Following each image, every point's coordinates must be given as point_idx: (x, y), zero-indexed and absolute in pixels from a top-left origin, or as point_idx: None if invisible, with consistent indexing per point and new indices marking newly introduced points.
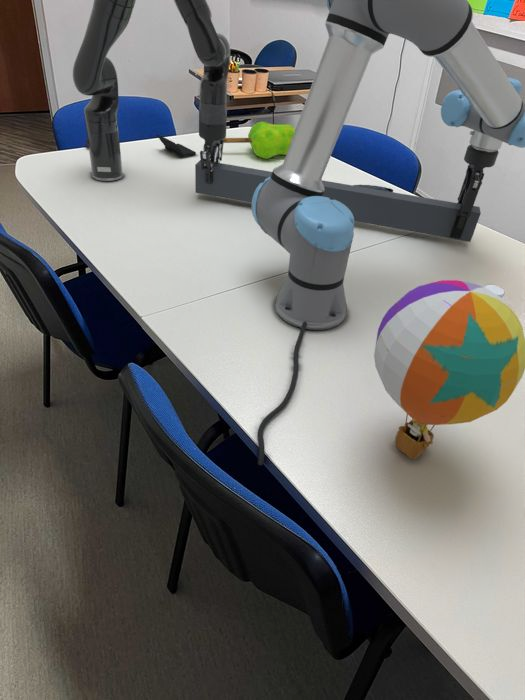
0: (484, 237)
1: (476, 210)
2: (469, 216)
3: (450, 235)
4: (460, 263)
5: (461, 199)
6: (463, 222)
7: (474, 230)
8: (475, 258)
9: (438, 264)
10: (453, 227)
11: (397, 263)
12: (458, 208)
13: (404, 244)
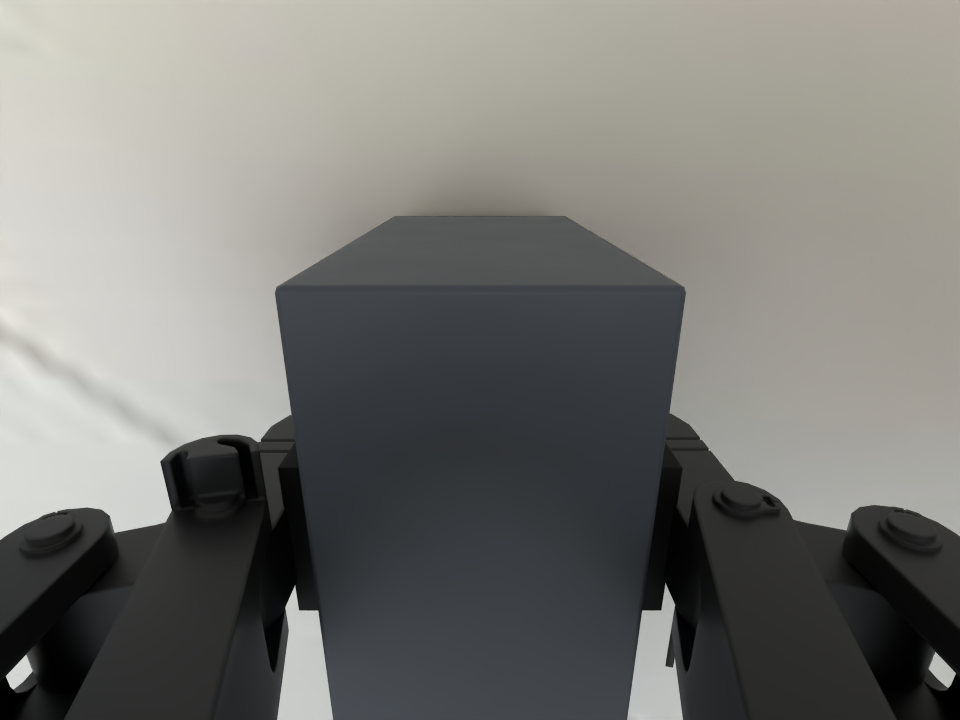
0: (207, 7)
1: (554, 375)
2: (948, 529)
3: None
4: (879, 293)
5: (270, 714)
6: (712, 465)
7: (592, 233)
8: (754, 149)
9: (919, 455)
10: None
11: (935, 675)
12: (586, 675)
13: (654, 652)
